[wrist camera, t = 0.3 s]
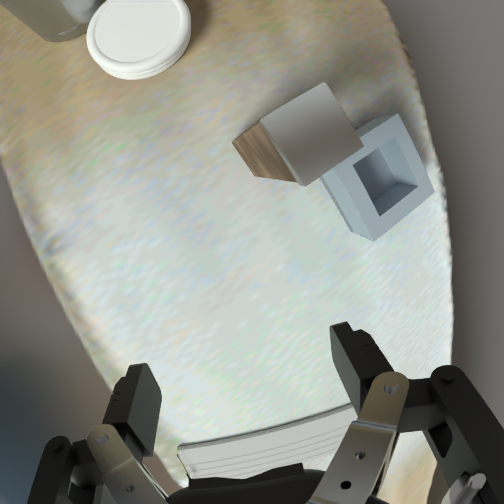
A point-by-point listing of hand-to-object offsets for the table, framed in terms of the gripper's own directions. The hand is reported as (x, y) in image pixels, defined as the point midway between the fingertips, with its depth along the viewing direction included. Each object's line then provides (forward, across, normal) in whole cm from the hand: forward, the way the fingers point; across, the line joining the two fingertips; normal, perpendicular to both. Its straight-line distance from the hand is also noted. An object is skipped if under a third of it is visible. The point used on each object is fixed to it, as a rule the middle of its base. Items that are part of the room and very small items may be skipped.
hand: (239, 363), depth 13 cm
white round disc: (+21, +4, -22) cm, 31 cm away
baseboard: (+18, -1, +34) cm, 38 cm away
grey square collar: (+22, -15, -3) cm, 26 cm away
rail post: (+21, -5, -7) cm, 23 cm away
